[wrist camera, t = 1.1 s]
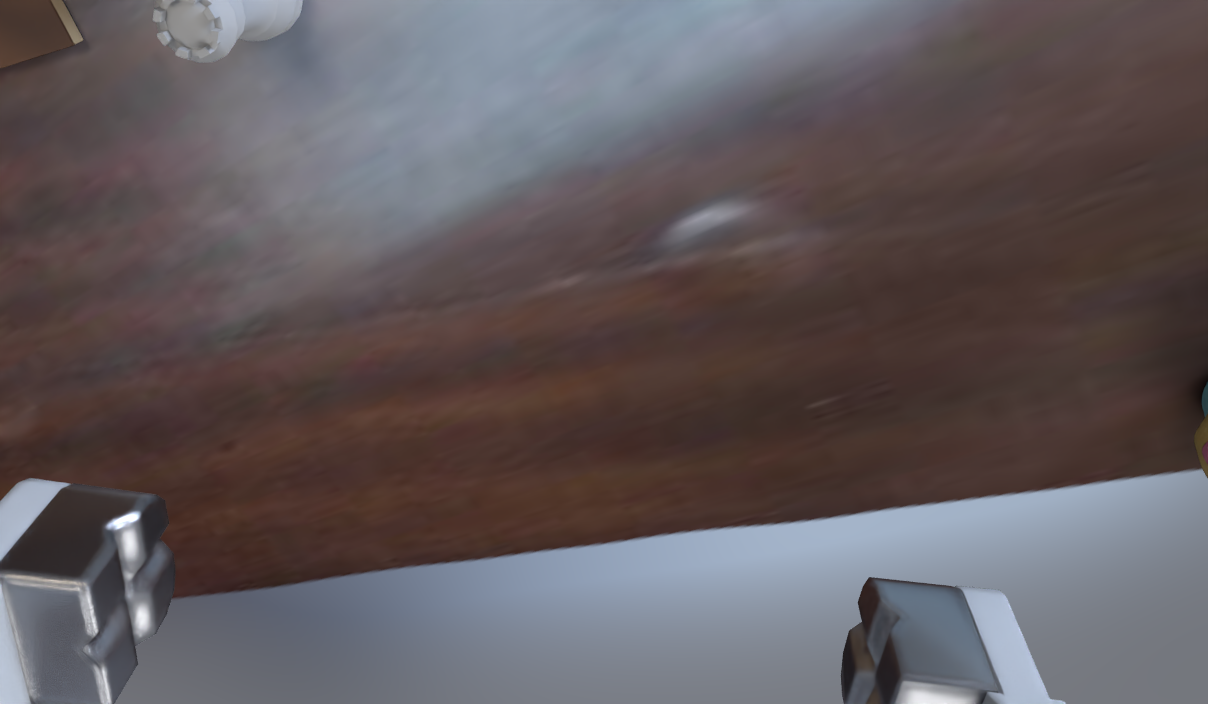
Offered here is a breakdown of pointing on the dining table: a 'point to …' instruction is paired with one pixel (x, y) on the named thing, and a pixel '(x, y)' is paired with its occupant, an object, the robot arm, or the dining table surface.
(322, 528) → the dining table surface
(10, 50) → the chessboard
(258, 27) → the rook chess piece
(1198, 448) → the cupcake
